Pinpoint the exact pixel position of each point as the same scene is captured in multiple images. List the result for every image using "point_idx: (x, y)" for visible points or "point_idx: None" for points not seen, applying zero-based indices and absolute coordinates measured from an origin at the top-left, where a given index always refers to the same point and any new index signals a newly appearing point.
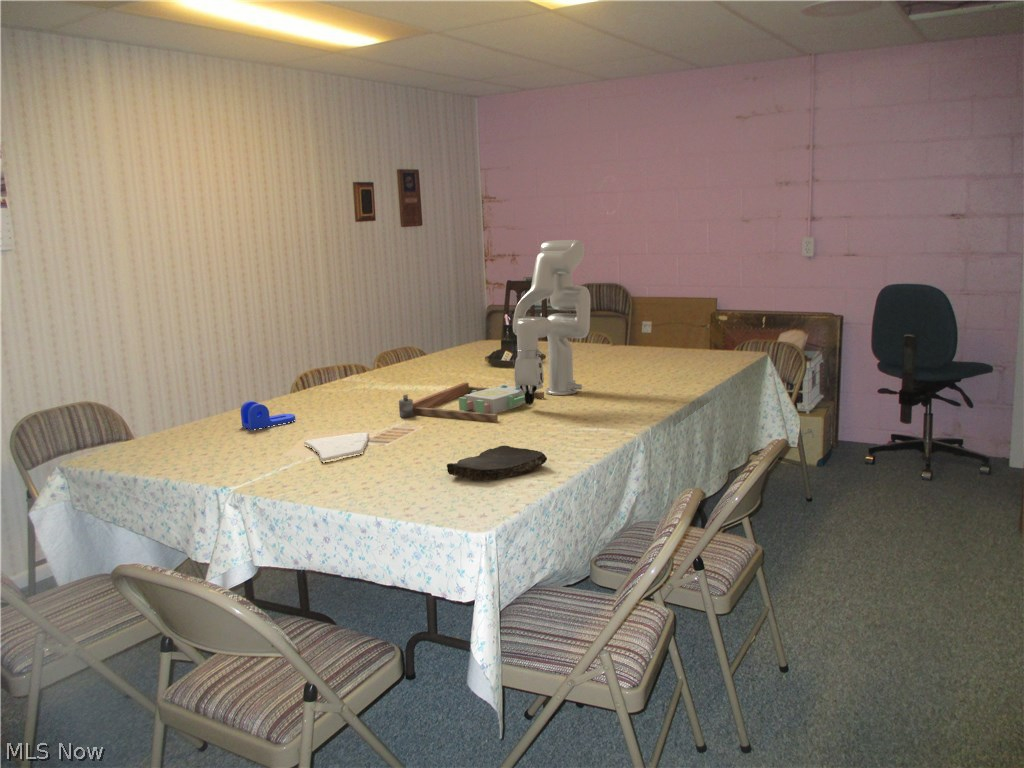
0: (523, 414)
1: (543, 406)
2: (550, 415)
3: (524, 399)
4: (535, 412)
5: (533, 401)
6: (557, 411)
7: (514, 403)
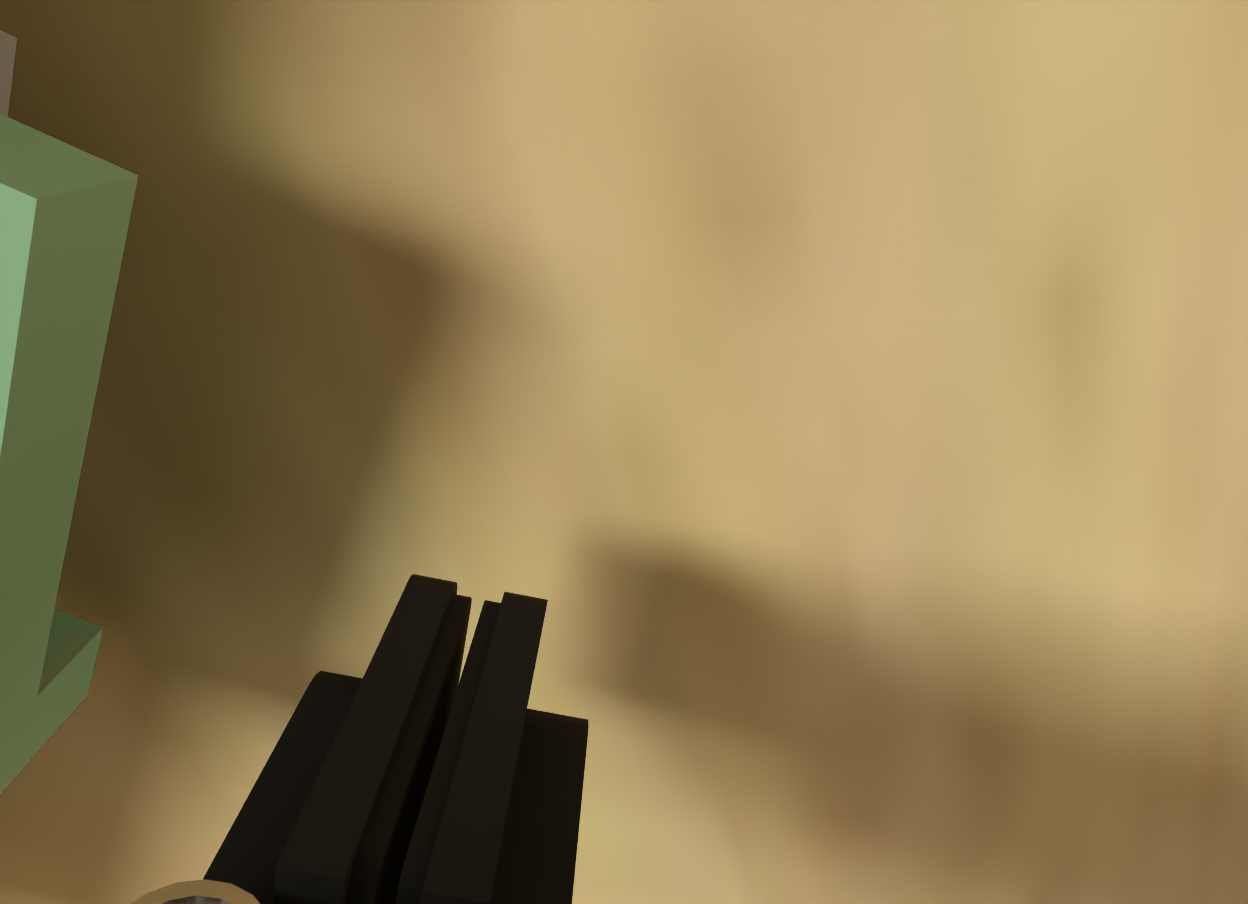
0: None
1: (767, 74)
2: (1023, 866)
3: (91, 301)
4: (680, 702)
5: (582, 727)
6: (1190, 589)
7: (36, 689)
